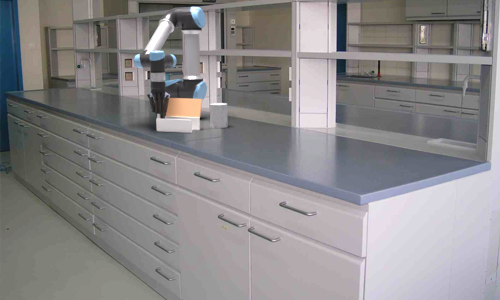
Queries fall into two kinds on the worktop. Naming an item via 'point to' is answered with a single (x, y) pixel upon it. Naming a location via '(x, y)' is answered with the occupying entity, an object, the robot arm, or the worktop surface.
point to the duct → (178, 124)
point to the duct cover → (184, 107)
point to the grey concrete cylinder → (218, 115)
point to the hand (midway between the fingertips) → (160, 125)
